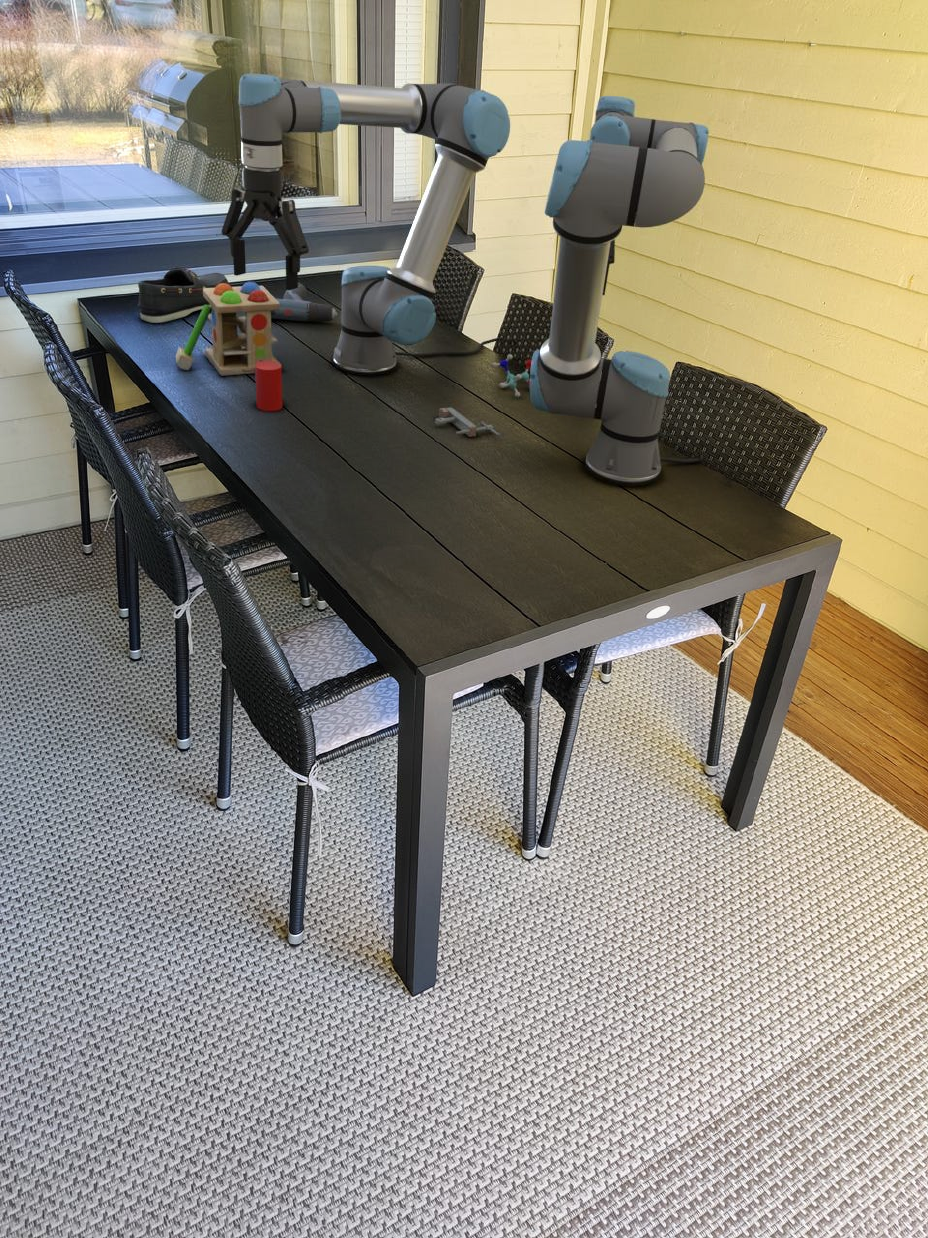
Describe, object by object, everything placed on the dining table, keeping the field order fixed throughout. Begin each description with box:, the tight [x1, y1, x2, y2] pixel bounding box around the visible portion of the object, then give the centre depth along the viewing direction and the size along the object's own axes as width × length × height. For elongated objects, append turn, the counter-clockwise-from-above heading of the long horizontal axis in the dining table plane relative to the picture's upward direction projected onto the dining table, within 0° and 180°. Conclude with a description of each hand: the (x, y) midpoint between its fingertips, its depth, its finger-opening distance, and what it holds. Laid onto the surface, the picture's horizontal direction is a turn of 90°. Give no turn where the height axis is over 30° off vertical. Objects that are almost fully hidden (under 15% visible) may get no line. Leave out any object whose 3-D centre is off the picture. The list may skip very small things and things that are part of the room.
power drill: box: [271, 282, 338, 322], centre depth 265 cm, size 5×19×20 cm
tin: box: [254, 361, 283, 412], centre depth 210 cm, size 6×6×9 cm
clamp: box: [434, 407, 502, 438], centre depth 210 cm, size 15×2×10 cm
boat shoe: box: [137, 266, 230, 324], centre depth 260 cm, size 13×33×10 cm, turn 147°
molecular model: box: [491, 353, 532, 398], centre depth 230 cm, size 12×10×10 cm
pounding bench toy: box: [174, 281, 280, 377], centre depth 225 cm, size 23×14×18 cm, turn 116°
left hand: (265, 281), depth 198 cm, fingers open, 13 cm apart
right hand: (588, 285), depth 214 cm, fingers open, 13 cm apart
